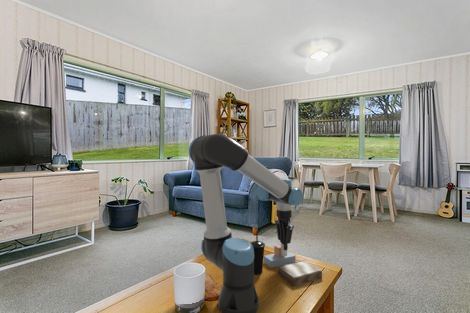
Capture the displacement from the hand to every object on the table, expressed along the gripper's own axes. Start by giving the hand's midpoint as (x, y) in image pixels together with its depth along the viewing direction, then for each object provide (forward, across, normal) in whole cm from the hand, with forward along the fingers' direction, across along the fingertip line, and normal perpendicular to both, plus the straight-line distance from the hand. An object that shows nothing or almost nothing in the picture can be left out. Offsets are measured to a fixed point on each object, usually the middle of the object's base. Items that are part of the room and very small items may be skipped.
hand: (284, 255), depth 123 cm
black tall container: (+5, 0, +16) cm, 17 cm away
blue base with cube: (+5, +4, 0) cm, 6 cm away
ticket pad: (+5, -12, 0) cm, 13 cm away
